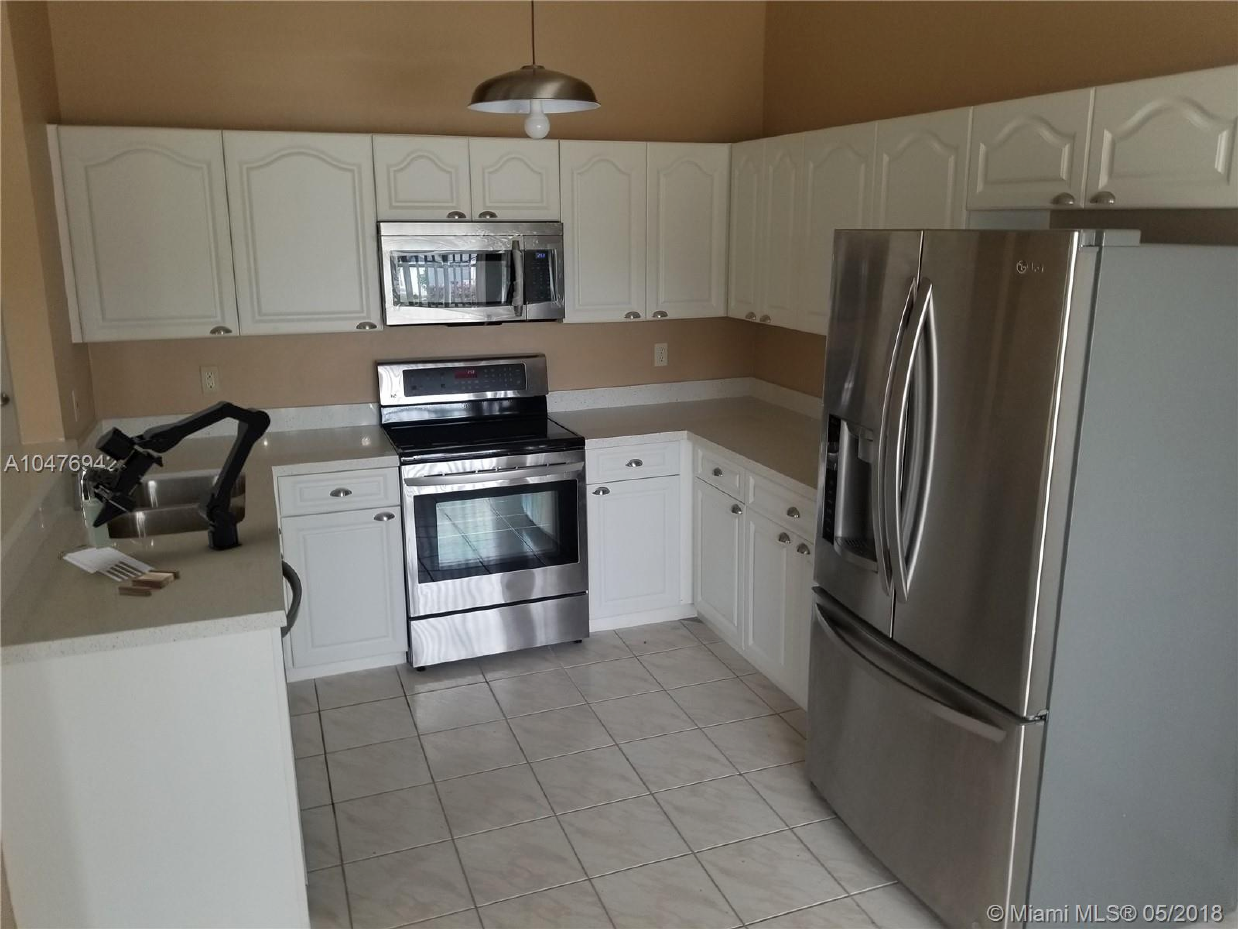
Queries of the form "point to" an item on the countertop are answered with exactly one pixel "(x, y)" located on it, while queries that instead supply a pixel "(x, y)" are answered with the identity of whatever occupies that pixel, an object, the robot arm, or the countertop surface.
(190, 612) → the countertop surface
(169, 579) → the offcut low
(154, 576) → the offcut top
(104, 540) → the pale green block
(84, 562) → the baseboard
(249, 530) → the countertop surface
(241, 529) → the countertop surface
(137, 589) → the rack
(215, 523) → the robot arm
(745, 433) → the countertop surface
